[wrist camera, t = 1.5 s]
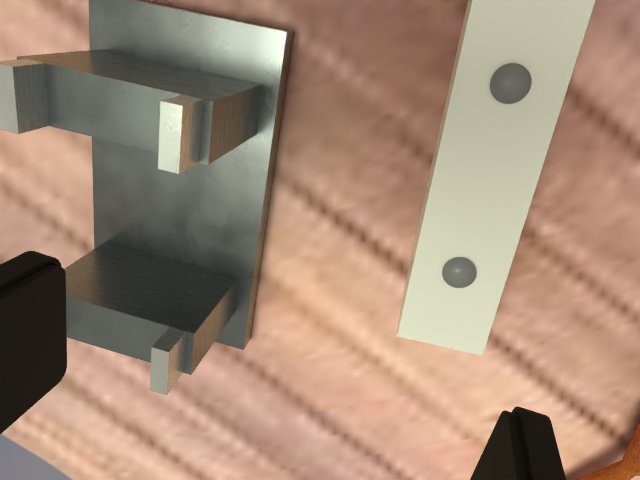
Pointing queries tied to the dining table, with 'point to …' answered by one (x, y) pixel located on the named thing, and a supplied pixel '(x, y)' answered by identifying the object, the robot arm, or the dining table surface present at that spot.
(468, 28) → the cream rectangular bar
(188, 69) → the rack
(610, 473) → the purple maraca
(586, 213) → the dining table surface
